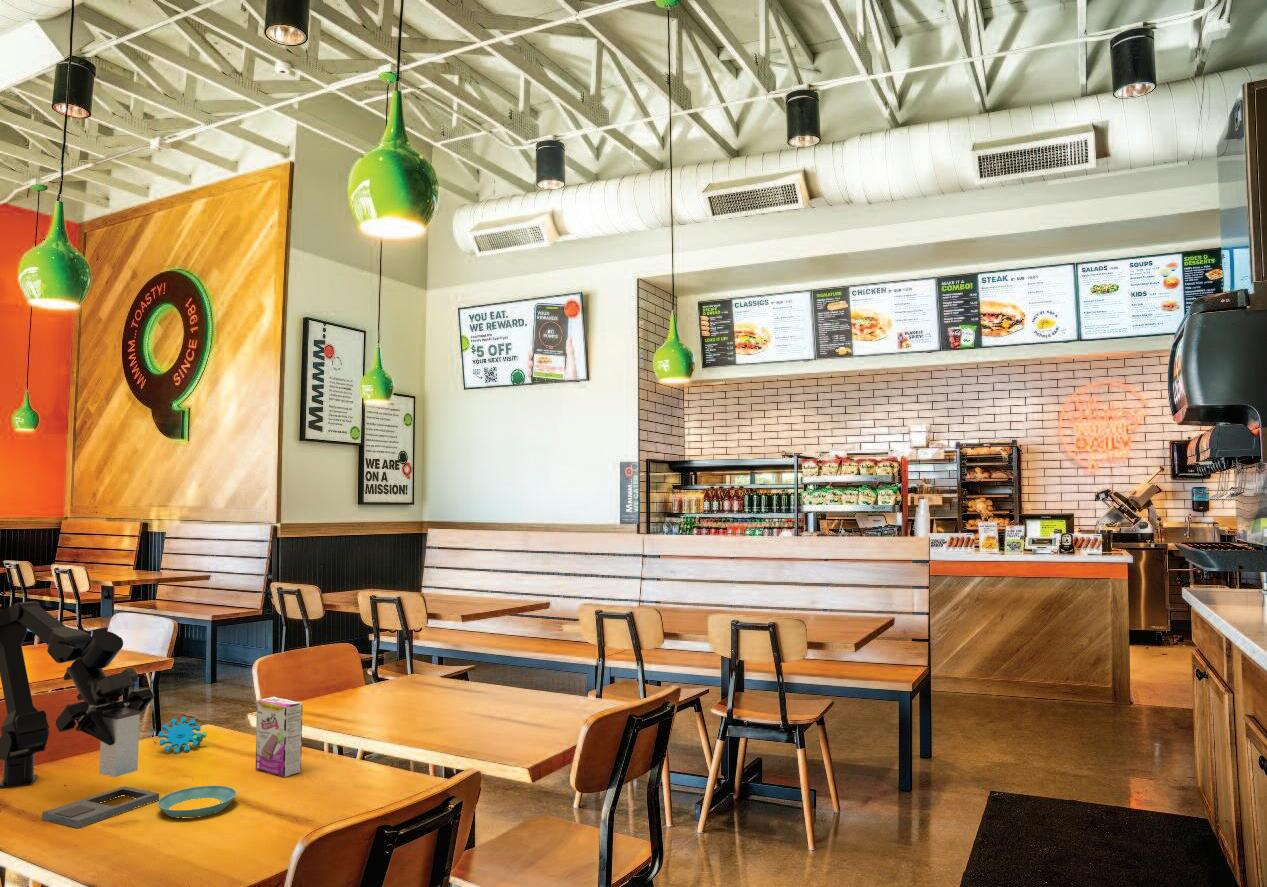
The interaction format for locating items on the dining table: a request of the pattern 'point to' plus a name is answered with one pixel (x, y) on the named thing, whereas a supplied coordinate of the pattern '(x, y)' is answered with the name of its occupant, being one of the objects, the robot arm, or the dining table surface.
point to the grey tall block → (120, 742)
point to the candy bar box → (279, 736)
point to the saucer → (195, 793)
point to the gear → (181, 735)
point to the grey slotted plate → (97, 807)
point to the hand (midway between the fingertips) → (124, 740)
